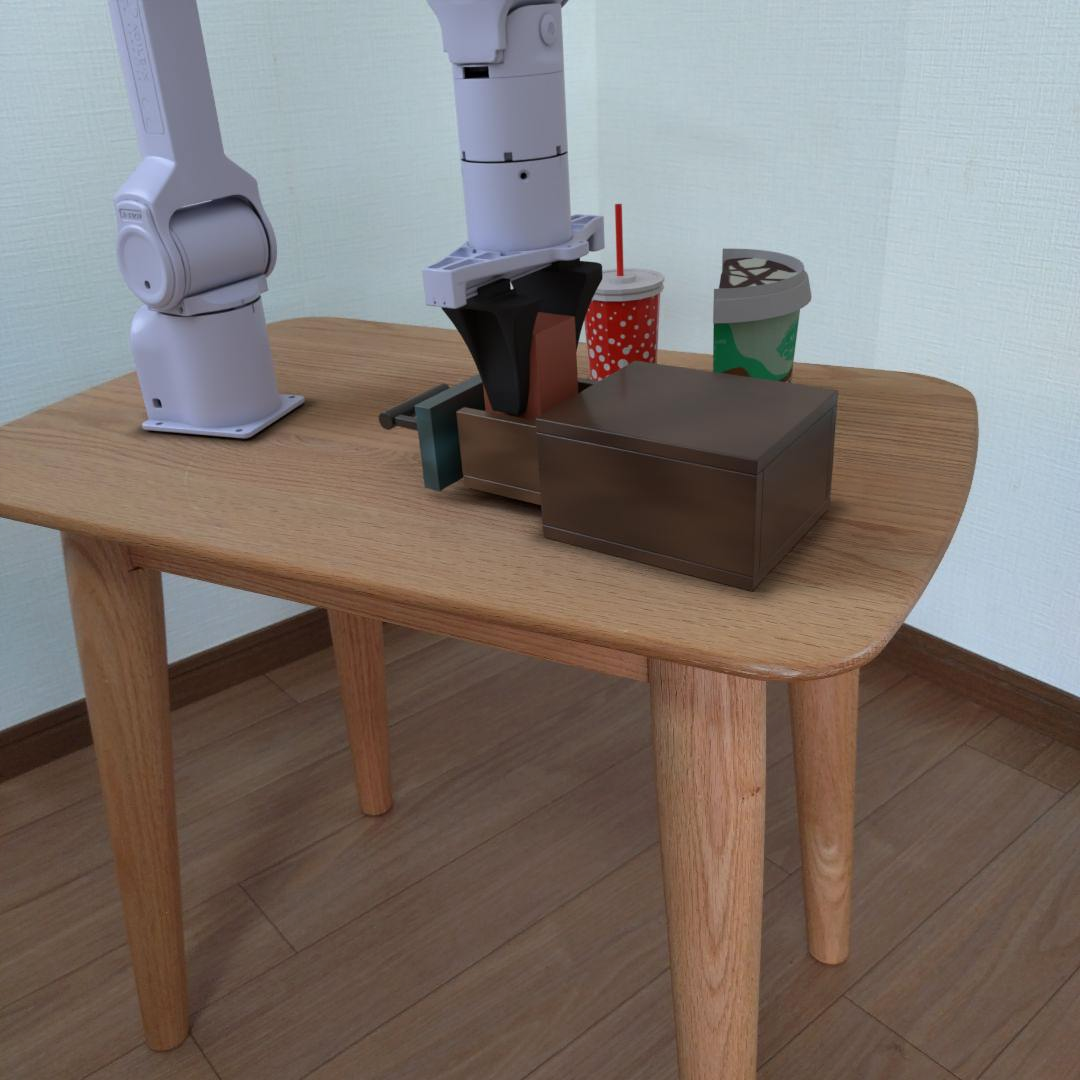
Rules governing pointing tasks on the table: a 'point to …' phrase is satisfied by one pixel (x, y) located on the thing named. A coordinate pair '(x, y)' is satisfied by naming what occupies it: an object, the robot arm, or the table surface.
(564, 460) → the cabinet
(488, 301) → the robot arm
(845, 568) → the table surface
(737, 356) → the food container
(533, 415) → the block
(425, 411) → the drawer
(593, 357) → the beverage cup
